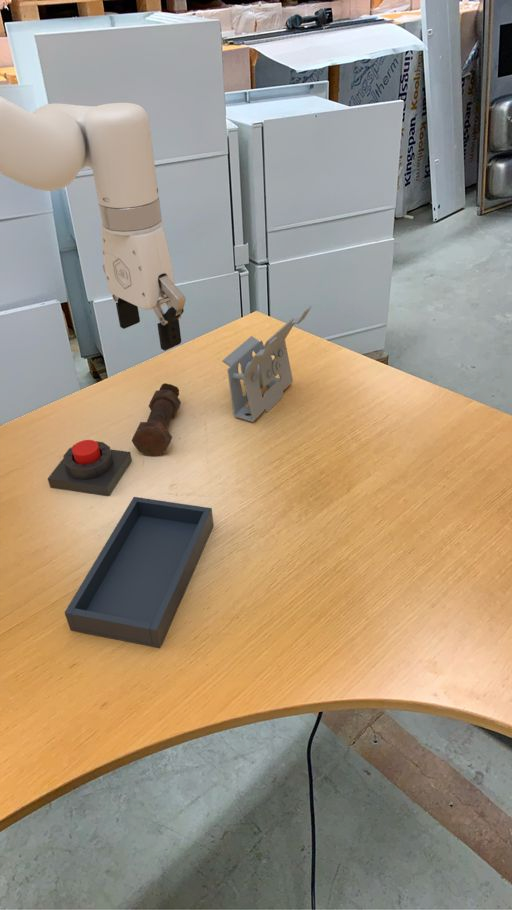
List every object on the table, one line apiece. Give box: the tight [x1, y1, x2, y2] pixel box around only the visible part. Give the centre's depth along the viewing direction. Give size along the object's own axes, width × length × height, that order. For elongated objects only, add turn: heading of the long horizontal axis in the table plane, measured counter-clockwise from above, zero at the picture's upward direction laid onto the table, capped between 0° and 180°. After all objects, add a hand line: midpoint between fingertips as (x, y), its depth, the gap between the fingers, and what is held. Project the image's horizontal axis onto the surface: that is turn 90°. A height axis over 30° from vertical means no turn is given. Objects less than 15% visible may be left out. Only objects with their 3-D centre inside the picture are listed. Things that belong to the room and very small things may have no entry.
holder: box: [64, 496, 214, 649], centre depth 77 cm, size 11×19×3 cm, turn 166°
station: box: [47, 440, 133, 497], centre depth 92 cm, size 9×8×4 cm
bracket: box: [222, 305, 313, 423], centre depth 102 cm, size 13×10×15 cm
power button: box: [72, 439, 101, 465], centre depth 91 cm, size 4×4×2 cm
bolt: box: [131, 382, 182, 457], centre depth 101 cm, size 6×5×15 cm
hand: (150, 335), depth 93 cm, fingers open, 9 cm apart
